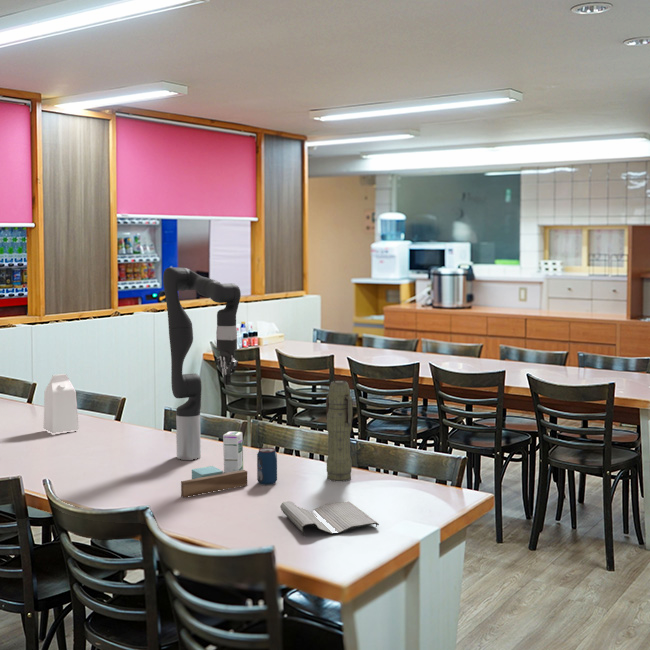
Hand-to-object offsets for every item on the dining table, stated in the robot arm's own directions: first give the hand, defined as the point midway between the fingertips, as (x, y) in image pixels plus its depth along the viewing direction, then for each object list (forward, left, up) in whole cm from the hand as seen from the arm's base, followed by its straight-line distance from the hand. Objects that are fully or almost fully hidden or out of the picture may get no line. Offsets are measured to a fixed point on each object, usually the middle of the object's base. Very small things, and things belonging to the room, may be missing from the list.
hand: (227, 384), depth 291 cm
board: (+21, -17, -32) cm, 42 cm away
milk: (-101, -29, -32) cm, 110 cm away
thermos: (+34, +26, -32) cm, 54 cm away
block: (+15, -17, -32) cm, 40 cm away
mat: (+69, -5, -33) cm, 76 cm away
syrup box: (+4, 0, -32) cm, 32 cm away
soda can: (+24, +2, -32) cm, 40 cm away
